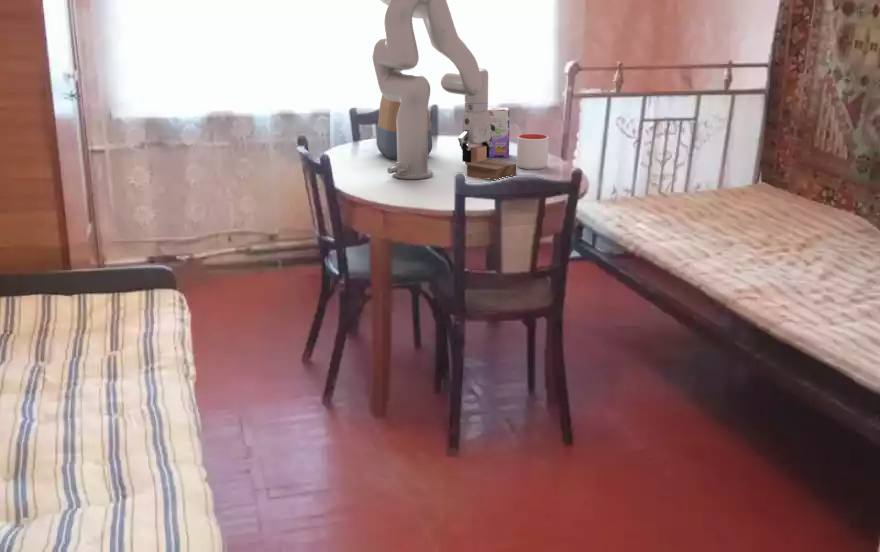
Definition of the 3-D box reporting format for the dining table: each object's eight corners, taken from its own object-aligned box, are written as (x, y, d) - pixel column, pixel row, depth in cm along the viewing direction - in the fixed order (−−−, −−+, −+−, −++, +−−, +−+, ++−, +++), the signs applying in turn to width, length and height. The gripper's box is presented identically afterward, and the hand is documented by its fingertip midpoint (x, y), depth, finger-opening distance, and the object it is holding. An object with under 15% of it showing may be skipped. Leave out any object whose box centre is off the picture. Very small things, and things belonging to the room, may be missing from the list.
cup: (528, 162, 315) (528, 132, 312) (553, 166, 309) (554, 136, 306) (510, 167, 308) (511, 137, 304) (536, 171, 302) (537, 140, 298)
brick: (477, 166, 309) (477, 148, 307) (465, 164, 312) (465, 146, 310) (486, 164, 313) (486, 146, 311) (474, 162, 316) (474, 144, 314)
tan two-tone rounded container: (435, 158, 322) (435, 89, 315) (389, 162, 316) (387, 92, 309) (418, 149, 337) (417, 83, 330) (373, 153, 331) (372, 86, 324)
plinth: (495, 180, 290) (495, 169, 288) (467, 175, 296) (467, 164, 295) (516, 174, 298) (516, 163, 296) (488, 169, 304) (488, 159, 303)
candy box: (509, 154, 328) (510, 106, 323) (508, 157, 322) (509, 109, 317) (469, 153, 329) (469, 106, 324) (468, 157, 324) (468, 108, 319)
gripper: (469, 111, 298) (468, 165, 304) (501, 105, 311) (500, 156, 316) (450, 109, 303) (450, 162, 308) (483, 103, 315) (482, 154, 321)
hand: (475, 159), depth 312 cm, fingers open, 9 cm apart
